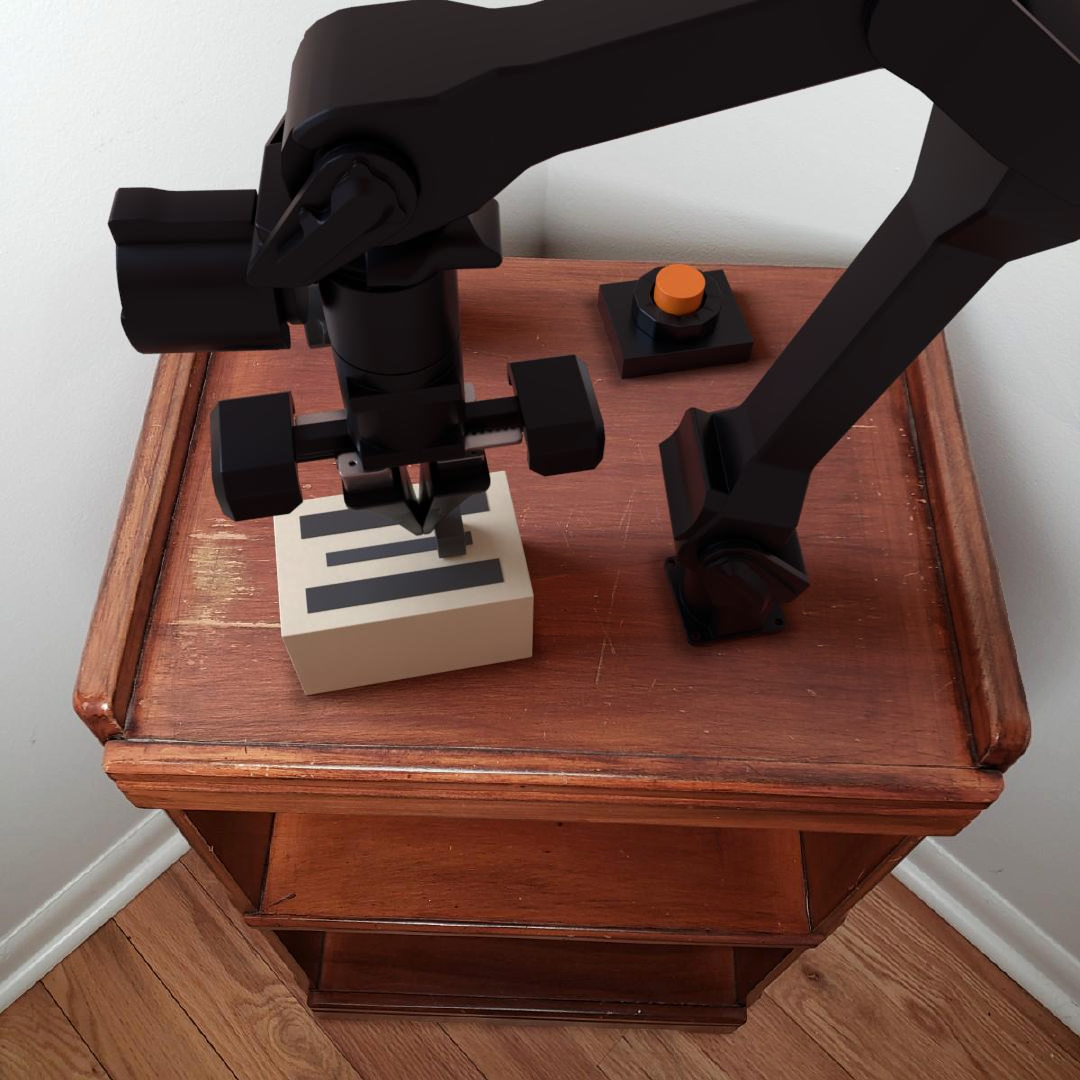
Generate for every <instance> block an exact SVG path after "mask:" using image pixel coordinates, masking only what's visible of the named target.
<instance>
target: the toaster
mask: <svg viewBox="0 0 1080 1080" xmlns="http://www.w3.org/2000/svg"><path fill="white" fill-rule="evenodd" d="M489 473H490V478H491V484H490V487H489V489H488V490H487V491H485V492H483V493H479V494H474V495H471V496H470V497H469V498H467V499H466V500H465V501H464V502H462V503H461V504H460V505H459V506H460V511H461V516H462V521H463V527H464V532H465V540H466V554H465V555H459V556H452V557H446V558H439V556H438V550H437V544H436V538H435V533H434V530H433V531H432V532H431V533H430V534H426V535H424V534H423V535H419V536H416V535H414V534H413V533H411V532H410V531H408V530H406V529H405V528H403V527H402V526H400V525H399V524H397V523H395V522H394V521H392V520H390V519H387V518H385V517H382V516H380V515H377V514H375V513H373V512H370V511H367V510H364V511H351V510H349V509H348V508H347V507H346V505H345V502H344V497H343V493H342V494H336V495H329V496H321V497H314V498H307V499H303V503H302V504H301V505H299V506H298V507H297V508H296V509H295V510H294V511H292V512H291V513H290V514H286V515H279V516H272V517H273V530H274V531H273V532H274V544H275V546H274V547H275V559H276V571H277V572H276V574H277V575H276V577H277V590H278V603H279V604H278V606H279V618H280V621H279V622H280V633H281V634H280V635H281V639H282V642H283V644H284V647H285V648H286V651H287V653H288V655H289V658H290V660H291V663H292V665H293V668H294V671H295V672H296V675H297V678H298V680H299V682H300V685H301V687H302V690H303V692H304V695H306V696H310V695H317V694H322V693H329V692H333V691H339V690H345V689H353V688H357V687H363V686H368V685H374V684H382V683H386V682H393V681H399V680H405V679H410V678H415V677H422V676H428V675H432V674H440V673H446V672H451V671H457V670H463V669H470V668H474V667H481V666H486V665H487V666H488V665H493V664H498V663H505V662H511V661H516V660H522V659H528V658H531V657H532V658H533V636H534V602H535V599H534V598H535V594H534V590H533V586H532V580H531V577H530V573H529V568H528V563H527V559H526V555H525V551H524V550H525V549H524V546H523V542H522V541H523V540H522V537H521V532H520V529H519V524H518V519H517V515H516V511H515V506H514V501H513V497H512V492H511V489H510V484H509V479H508V476H507V475H508V474H507V471H506V470H501V471H493V472H489ZM412 485H413V488H414V491H415V494H416V497H417V500H418V504H419V482H418V483H412Z"/></svg>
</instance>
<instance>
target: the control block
mask: <svg viewBox="0 0 1080 1080" xmlns="http://www.w3.org/2000/svg"><path fill="white" fill-rule="evenodd" d="M669 265H670V264H669ZM669 265H662V266H655V267H653V268H652V269H650V270H649V271H647V272H646V273H644V274H642V275H641V276H640V277H639V278H638V279H631V280H625V281H617V282H616V281H615V282H609V283H600V284H599V286H598V293H597V294H598V296H597V309H598V311H599V314H600V318H601V321H602V324H603V327H604V330H605V333H606V336H607V339H608V342H609V345H610V348H611V352H612V355H613V358H614V361H615V364H616V367H617V371H618V373H619V377H620V379H621V380H625V379H632V378H641V377H647V376H648V377H649V376H654V375H655V376H656V375H662V374H671V373H678V372H685V371H692V370H700V369H707V368H714V367H720V366H721V367H722V366H729V365H736V364H743V363H744V364H745V363H748V362H750V357H751V355H752V350H753V347H754V344H755V341H754V338H753V336H752V334H751V332H750V329H749V327H748V324H747V322H746V320H745V318H744V315H743V313H742V311H741V308H740V306H739V304H738V301H737V299H736V296H735V294H734V292H733V290H732V287H731V285H730V282H729V280H728V278H727V276H726V274H725V271H724V269H720V268H719V269H714V270H706V271H705V270H704V271H703V270H701V269H699V268H696V269H697V270H698V271H699V272H700V273H701V274H702V275H703V277H704V279H705V288H704V293H703V298H702V303H701V305H700V307H699V308H698V309H697V310H696V311H695V312H693V313H691V314H684V315H675V314H671V313H667V312H664V311H662V310H661V309H660V308H659V307H658V306H657V305H656V303H655V301H654V291H655V284H656V277H657V275H658V273H659V272H660V271H661V270H662V269H663V268H665V267H667V266H669Z"/></svg>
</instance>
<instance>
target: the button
mask: <svg viewBox="0 0 1080 1080" xmlns="http://www.w3.org/2000/svg"><path fill="white" fill-rule="evenodd" d="M666 266H667V267H665V268H663V269H662V270H661V271H660V272H659V273H658V275H657V277H656V284H655V291H654V301H655V303H656V305H657V306H658V307H659V308H660V309H661V310H662V311H664V312H667V313H671V314H675V315H684V314H691V313H693V312H695V311H696V310H697V309H698V308H699V307H700V305H701V303H702V298H703V293H704V288H705V279H704V277H703V275H702V274H701V273H700V272H699V271H698V270H697V269H698V268H695V267H693V266H691V265H687V264H683V263H682V264H681V263H677V264H675V263H674V264H669V266H668V265H666Z"/></svg>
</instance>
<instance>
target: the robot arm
mask: <svg viewBox="0 0 1080 1080" xmlns="http://www.w3.org/2000/svg"><path fill="white" fill-rule="evenodd" d="M878 70H885V71H888V72H890V73H891V74H892V75H894V76H896V77H897V78H899V79H900V80H902V81H904V82H905V83H907V84H908V85H910V86H911V87H913V88H915V89H917V90H918V91H919V92H921V93H922V94H923V95H924V96H926V98H928V100H930V101H931V102H932V103H933V104H932V107H931V110H930V114H929V118H928V121H927V125H926V129H925V131H924V132H925V133H924V137H923V139H922V144H921V147H920V151H919V155H918V159H917V164H916V167H915V170H914V173H913V178H912V179H911V182H910V185H909V186H908V188H907V190H906V191H905V193H904V194H903V195H902V197H901V198H900V200H899V201H898V202H897V203H896V204H895V206H894V207H893V208H892V210H890V212H889V214H888V215H887V217H886V218H885V219H884V220H883V221H882V223H880V226H879V227H877V229H876V230H875V232H874V233H873V235H872V236H870V238H869V240H868V241H867V242H866V243H865V244H864V246H863V247H862V249H861V250H860V251H859V253H858V254H857V255H856V256H855V257H854V259H853V260H852V262H851V263H850V264H849V265H848V267H847V268H846V269H845V270H844V272H843V273H842V274H841V275H840V277H839V278H838V279H837V280H836V282H835V283H834V284H833V286H832V287H831V289H830V290H829V291H828V293H826V295H825V296H824V297H823V299H821V301H820V302H819V304H818V305H817V307H815V309H814V310H813V312H812V313H811V314H810V315H809V317H808V318H807V319H806V321H805V322H804V323H803V324H802V326H801V327H800V328H799V329H798V331H797V332H796V334H795V335H794V337H792V339H791V340H790V341H789V343H788V344H787V345H786V346H785V348H784V349H783V350H782V352H781V353H780V354H779V355H778V357H777V358H776V359H775V361H774V362H773V363H772V364H771V366H770V367H769V368H768V369H767V371H766V372H765V374H764V375H763V376H762V378H760V380H759V381H758V383H756V385H755V386H754V388H753V389H752V390H751V391H750V393H748V395H747V397H746V398H745V399H744V401H743V402H741V403H740V404H739V405H735V406H730V407H726V408H722V409H717V410H713V411H705V410H704V409H700V408H698V407H695V406H692V407H691V406H690V407H689V408H687V409H685V411H684V414H683V416H682V418H681V420H680V423H679V424H678V426H677V428H676V429H675V430H674V431H673V432H672V433H671V434H670V435H669V436H668V437H667V438H666V439H664V440H663V441H661V442H660V443H659V444H658V450H659V456H660V463H661V471H662V478H663V483H664V488H665V489H664V490H665V497H666V502H667V508H668V514H669V521H670V527H671V533H672V534H671V535H672V539H673V545H674V551H675V555H672V556H668V557H666V558H665V559H664V562H663V570H664V572H665V576H666V579H667V583H668V585H669V589H670V592H671V595H672V599H673V602H674V604H675V609H676V611H677V614H678V617H679V620H680V624H681V628H682V630H683V633H684V637H685V640H686V642H687V644H688V645H690V646H692V647H700V646H706V645H712V644H717V643H723V642H724V643H725V642H730V641H733V640H740V639H747V638H751V637H753V638H754V637H758V636H763V635H768V634H769V635H770V634H775V633H781V632H783V631H784V630H785V628H786V626H787V619H786V617H785V614H784V611H783V608H782V607H781V604H789V603H793V602H794V601H795V600H797V599H798V598H799V597H800V596H801V595H802V594H803V593H804V592H806V590H808V589H809V588H810V587H811V583H810V579H809V576H808V575H809V574H808V571H807V568H806V564H805V559H804V555H803V551H802V546H801V543H800V539H799V533H798V531H797V528H798V526H799V523H800V520H801V519H800V518H801V515H802V512H803V507H804V503H805V499H806V495H807V492H808V488H809V483H810V480H811V476H812V473H813V472H814V469H816V467H817V466H818V464H819V463H820V462H821V461H822V460H823V458H825V457H826V455H827V454H828V453H830V451H831V450H833V448H834V447H835V446H836V445H837V444H838V442H840V440H842V438H843V437H844V436H845V435H846V434H847V433H848V432H849V431H850V430H851V429H852V427H853V426H855V424H856V423H857V422H858V421H859V420H861V418H862V417H863V416H864V415H865V414H866V413H867V412H868V411H869V409H870V408H871V407H872V406H874V404H875V403H876V402H877V401H878V400H879V399H880V398H881V397H882V395H883V394H884V393H885V392H886V391H887V390H888V389H889V388H890V387H891V386H892V385H893V384H894V383H895V382H896V380H897V379H899V377H900V376H901V375H902V374H903V373H904V372H905V371H906V370H907V369H908V368H909V367H910V366H911V365H912V363H913V362H914V361H915V360H916V359H917V358H918V357H919V356H920V355H921V354H922V352H923V351H924V350H925V349H927V347H929V345H930V344H931V343H932V342H933V341H934V340H935V339H936V338H937V337H938V336H939V334H940V333H941V332H942V331H943V330H944V329H945V328H946V327H947V326H948V325H949V324H950V323H951V322H952V321H953V319H955V317H956V316H958V314H959V313H960V312H961V311H962V310H963V309H964V308H965V307H966V305H968V304H969V302H971V300H973V298H974V297H975V296H976V295H977V294H978V293H979V292H980V291H981V289H983V287H985V285H986V284H987V283H988V282H989V281H990V280H991V279H992V278H993V277H994V276H995V274H996V273H998V271H999V270H1001V269H1002V268H1004V266H1006V264H1008V263H1011V262H1013V261H1016V260H1020V259H1023V258H1026V257H1029V256H1033V255H1036V254H1039V253H1043V252H1046V251H1049V250H1053V249H1057V248H1059V247H1063V246H1065V245H1069V244H1072V243H1076V242H1077V241H1080V0H539V1H535V2H532V3H528V4H527V3H526V4H518V5H511V6H502V7H486V6H480V5H475V4H470V3H466V2H465V3H464V2H460V1H455V0H398V1H388V2H381V3H372V4H363V5H356V6H350V7H344V8H340V9H337V10H334V11H332V12H330V13H329V14H327V15H325V16H323V17H321V18H319V19H317V20H316V21H315V22H313V24H311V25H310V26H309V27H308V28H307V30H305V32H304V34H303V38H302V40H301V41H300V43H299V44H298V48H297V50H296V53H295V56H294V58H293V60H292V63H291V70H290V78H289V86H288V94H287V102H286V110H285V112H284V113H283V116H282V117H281V119H280V120H279V122H278V123H277V125H276V126H275V128H274V130H273V131H272V133H271V134H270V136H269V138H268V139H267V141H266V143H265V144H264V148H263V155H262V161H261V167H260V168H261V169H260V170H261V171H260V175H259V184H258V190H257V189H256V188H251V189H250V188H246V189H245V188H243V189H242V188H241V189H200V190H195V189H193V190H192V189H191V190H169V189H163V188H162V189H161V188H156V187H150V186H149V187H147V186H135V187H134V186H130V187H129V186H128V187H118V188H117V190H116V191H115V194H114V197H113V200H112V204H111V207H110V213H109V216H108V220H107V227H108V229H109V232H110V234H111V236H112V239H113V241H114V243H115V271H116V272H115V273H116V281H117V289H118V294H119V300H120V305H121V310H120V316H119V317H120V319H119V320H120V324H121V327H122V329H123V331H124V334H125V336H126V338H127V340H128V342H129V343H130V345H131V347H132V348H133V349H134V350H135V351H136V352H137V353H139V354H142V355H162V354H164V355H165V354H167V355H168V354H197V353H199V354H200V353H229V352H259V351H260V352H261V351H262V352H263V351H280V350H291V347H292V339H291V329H290V325H291V326H303V329H304V335H305V339H306V344H307V346H308V348H309V349H311V350H314V349H322V348H330V347H331V351H332V356H333V362H334V366H335V371H336V376H337V380H338V384H339V390H340V394H341V399H342V403H343V408H341V409H333V410H328V411H319V412H312V413H304V414H298V415H296V404H295V401H294V397H293V396H294V395H293V393H292V390H287V391H286V390H285V391H277V392H270V393H262V394H255V395H247V396H239V397H232V398H225V399H221V400H218V402H217V403H216V404H215V406H213V408H212V410H211V411H210V412H209V431H210V434H209V435H210V467H211V470H210V472H211V482H212V487H213V492H214V496H215V498H216V500H217V503H218V506H219V508H220V510H221V512H222V515H223V516H225V517H227V518H228V519H230V520H231V521H233V522H234V523H237V522H245V521H250V520H258V519H264V518H265V519H266V518H271V517H273V516H279V515H286V514H290V513H291V512H292V511H294V510H295V509H296V508H297V507H298V506H299V505H301V504H302V503H303V500H304V497H303V496H304V495H303V490H302V486H301V483H300V478H299V477H300V476H299V467H298V464H303V463H311V462H318V461H326V460H333V459H334V462H335V466H336V470H338V474H339V478H340V480H341V487H342V488H341V489H342V494H343V497H344V502H345V505H346V507H347V508H348V509H349V510H351V511H364V510H367V511H370V512H373V513H375V514H377V515H380V516H382V517H385V518H387V519H390V520H392V521H394V522H395V523H397V524H399V525H400V526H402V527H403V528H405V529H406V530H408V531H410V532H411V533H413V534H414V535H416V536H419V535H423V534H424V535H426V534H430V533H431V532H432V531H433V530H434V529H435V528H436V527H437V526H438V525H439V524H440V522H441V521H442V520H443V519H444V518H445V517H446V516H447V515H448V514H449V513H450V512H451V511H452V510H453V509H455V508H456V507H457V506H458V505H460V504H461V503H462V502H464V501H465V500H466V499H467V498H469V497H470V496H471V495H474V494H479V493H483V492H485V491H487V490H488V489H489V487H490V484H491V478H490V473H491V472H490V468H489V463H488V459H487V455H486V451H485V450H488V449H495V448H502V447H503V448H504V447H510V446H516V445H520V444H522V443H523V441H525V444H526V445H525V446H526V462H527V465H528V470H529V471H531V472H534V473H535V474H537V475H540V476H541V477H544V478H545V477H551V476H558V475H559V476H560V475H566V474H567V475H568V474H572V473H579V472H586V471H592V470H595V469H597V467H598V466H599V465H600V463H601V462H602V461H603V460H604V455H605V447H606V431H605V423H604V422H605V421H604V419H603V415H602V412H601V408H600V405H599V402H598V399H597V396H596V392H595V389H594V386H593V383H592V379H591V375H590V372H589V369H588V365H587V363H586V362H584V361H583V360H582V359H581V358H580V357H579V356H577V354H575V353H567V354H560V355H552V356H544V357H537V358H530V359H522V360H513V361H507V362H506V378H507V383H508V385H509V386H510V387H512V393H513V395H512V396H511V395H510V396H504V397H503V396H502V397H497V398H490V399H481V400H477V395H476V391H475V386H474V385H475V384H474V383H472V382H470V381H465V374H464V359H463V358H464V357H463V342H462V341H463V339H462V323H461V307H460V292H459V277H458V276H459V275H458V270H482V269H483V270H487V269H489V270H490V269H497V268H500V266H501V265H502V264H503V261H504V257H503V242H502V241H503V239H502V223H501V209H500V203H499V201H498V200H497V199H496V197H497V196H498V195H499V194H500V193H501V192H502V191H504V190H505V189H506V188H507V187H508V186H509V185H511V184H512V183H513V182H514V181H515V180H516V179H518V178H519V177H520V176H521V175H522V174H523V173H525V172H526V171H528V170H529V169H530V168H532V167H534V166H537V165H539V164H541V163H543V162H545V161H548V160H551V159H553V158H555V157H557V156H560V155H562V154H566V153H570V152H574V151H578V150H581V149H585V148H588V147H593V146H595V145H599V144H604V143H607V142H611V141H614V140H619V139H622V138H625V137H630V136H633V135H637V134H641V133H645V132H648V131H653V130H656V129H660V128H664V127H667V126H671V125H674V124H679V123H682V122H686V121H689V120H694V119H698V118H701V117H705V116H708V115H713V114H716V113H721V112H724V111H726V110H731V109H734V108H738V107H742V106H747V105H749V104H753V103H757V102H761V101H765V100H768V99H773V98H776V97H779V96H784V95H787V94H791V93H795V92H798V91H802V90H806V89H810V88H814V87H818V86H821V85H825V84H828V83H833V82H836V81H840V80H843V79H847V78H851V77H855V76H858V75H862V74H866V73H871V72H873V71H874V72H875V71H878ZM289 324H290V325H289ZM294 415H296V416H295V418H294ZM413 465H419V477H418V478H419V479H418V481H419V482H418V483H419V504H418V500H417V497H416V494H415V491H414V488H413V485H412V484H413V482H412V480H411V477H410V473H409V470H408V468H407V466H413ZM670 564H673V565H670ZM776 622H778V623H780V625H778V624H777V623H776ZM692 637H696V638H697V639H694V638H692Z"/></svg>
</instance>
